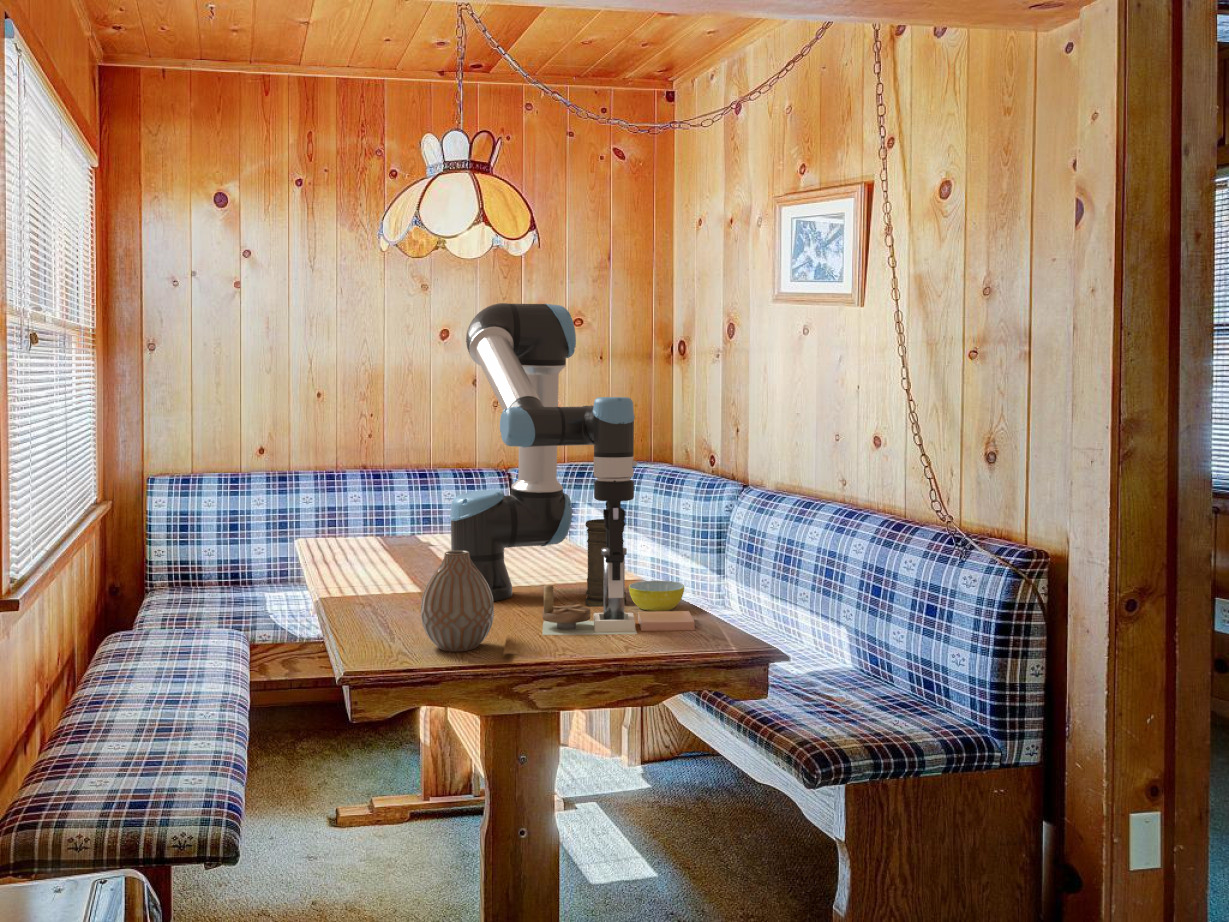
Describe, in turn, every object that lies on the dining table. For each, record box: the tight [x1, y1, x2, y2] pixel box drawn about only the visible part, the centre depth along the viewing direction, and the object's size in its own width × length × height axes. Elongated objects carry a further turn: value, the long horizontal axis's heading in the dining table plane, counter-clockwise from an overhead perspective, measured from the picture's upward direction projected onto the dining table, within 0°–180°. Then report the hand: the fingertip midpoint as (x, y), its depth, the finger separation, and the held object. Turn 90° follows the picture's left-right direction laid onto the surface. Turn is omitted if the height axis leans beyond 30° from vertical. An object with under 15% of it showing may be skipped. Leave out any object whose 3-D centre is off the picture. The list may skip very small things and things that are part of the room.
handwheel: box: [542, 584, 591, 623], centre depth 226 cm, size 9×9×6 cm
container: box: [584, 518, 627, 608], centre depth 256 cm, size 9×9×18 cm
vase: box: [420, 550, 495, 653], centre depth 216 cm, size 13×13×18 cm
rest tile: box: [637, 610, 695, 632], centre depth 229 cm, size 10×10×3 cm
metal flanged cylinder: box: [601, 547, 628, 620], centre depth 226 cm, size 5×5×15 cm
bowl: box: [628, 580, 685, 612], centre depth 245 cm, size 11×12×6 cm
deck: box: [541, 612, 638, 636], centre depth 226 cm, size 18×12×4 cm
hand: (614, 591), depth 226 cm, fingers open, 13 cm apart
